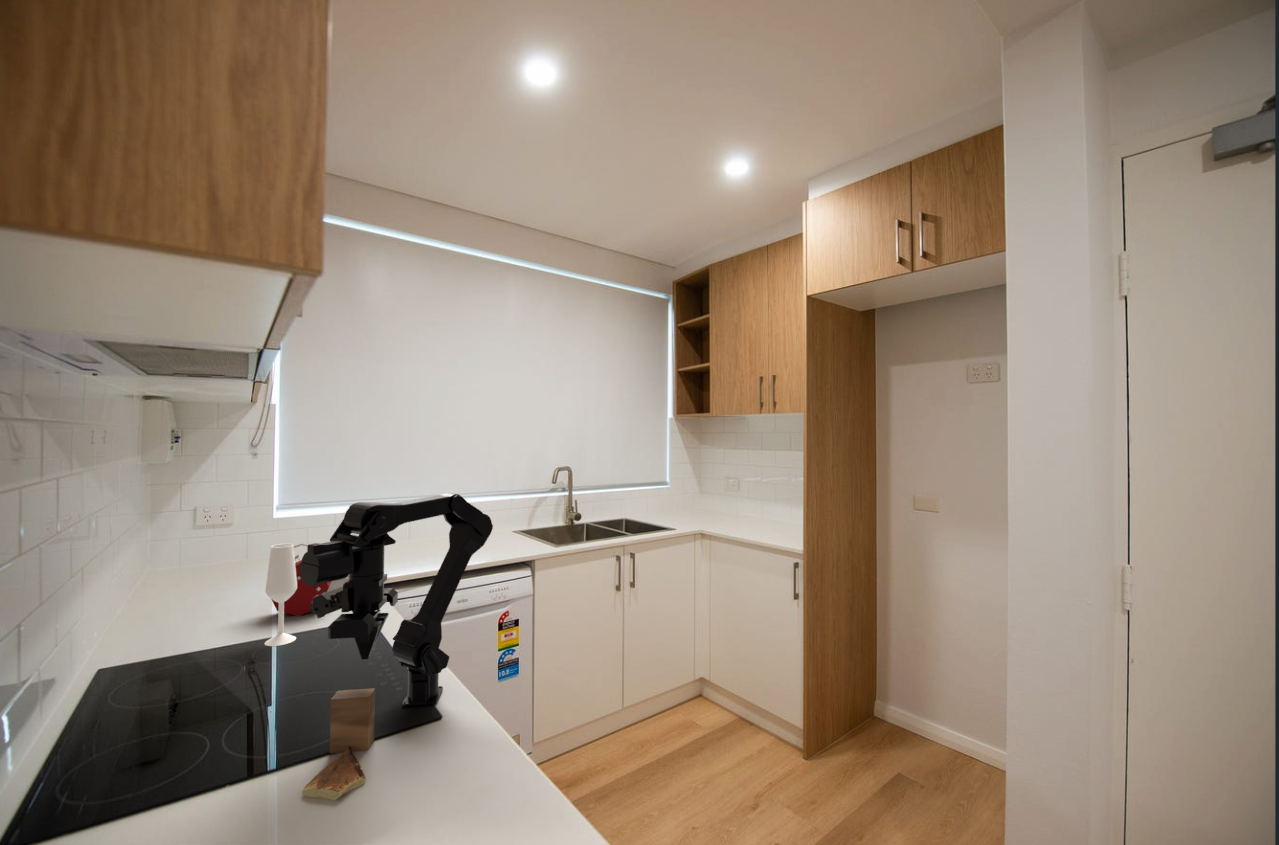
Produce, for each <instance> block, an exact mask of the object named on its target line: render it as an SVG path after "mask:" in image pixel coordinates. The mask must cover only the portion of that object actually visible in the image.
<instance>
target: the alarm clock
mask: <svg viewBox="0 0 1279 845" xmlns="http://www.w3.org/2000/svg"><path fill="white" fill-rule="evenodd" d="M308 545H309V544H304V543H300V544H297V545H293V546H294V549H295V548H298V547H301V546H305V547H307V546H308ZM294 557H295V560H299V561H295V567H296V578H297V589H296V591H295V593H294V594H293V595H292V596H291V597H290V598H289V599H288V600H286V601H285V602H284V614H289V615H293V616H298V617H300V616H302V615H304V614H306V613H309V612H310V609H311V604H310V603H312V601H313V598H314V597H315V596H316V595H321V594H322V593H324V592H326V593H327V591H328V588H329V586H330V584H331V582H327V583H323V584H319V585H315V586H307V585H306V584H305V583H304V582H303V580H302V578H301V574H300V563H301V561H302V559H300V555H299V554H297V555H295V556H294ZM270 600H271V601H272V603H273V605H274V607H275V610H276V611H277V612H278V608H279V603H278V602H275V601H274V600H272V599H271V598H270Z"/></svg>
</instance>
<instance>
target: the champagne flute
mask: <svg viewBox="0 0 1279 845" xmlns="http://www.w3.org/2000/svg"><path fill="white" fill-rule="evenodd" d="M294 546H295V545H294V543H280V544H279V543H278V544H273V545H271V546H270V552H269V561H268V568H267V575H266V583H265V594H266V596H268V598H270V600H271V599H272V600H274V601H275V602H278V603H279V608H278V611H277V612H278V618H277V620H278V622H277V624H278V625H277V633H276V635H274V636H272V637H271V638H269V639H268V640H266V641H265V642H264V645H265V646H267V647H277V646H278V647H279V646H282V645H283V646H284V645H287V644H290V643H293V642H295V641H296V639H297V637H296V636H295V635H293V634H288V633H286V632H285V631H284V630H285V627H284V626H285V613H284V602H285V601H286V600H288V599H289V598H290V597H291V596H292V595H293V594H294V593H295V591H296V589H297V578H296V567H295V563H296V559H295V557H296V556H295V548H294ZM272 600H271V601H272Z"/></svg>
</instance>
